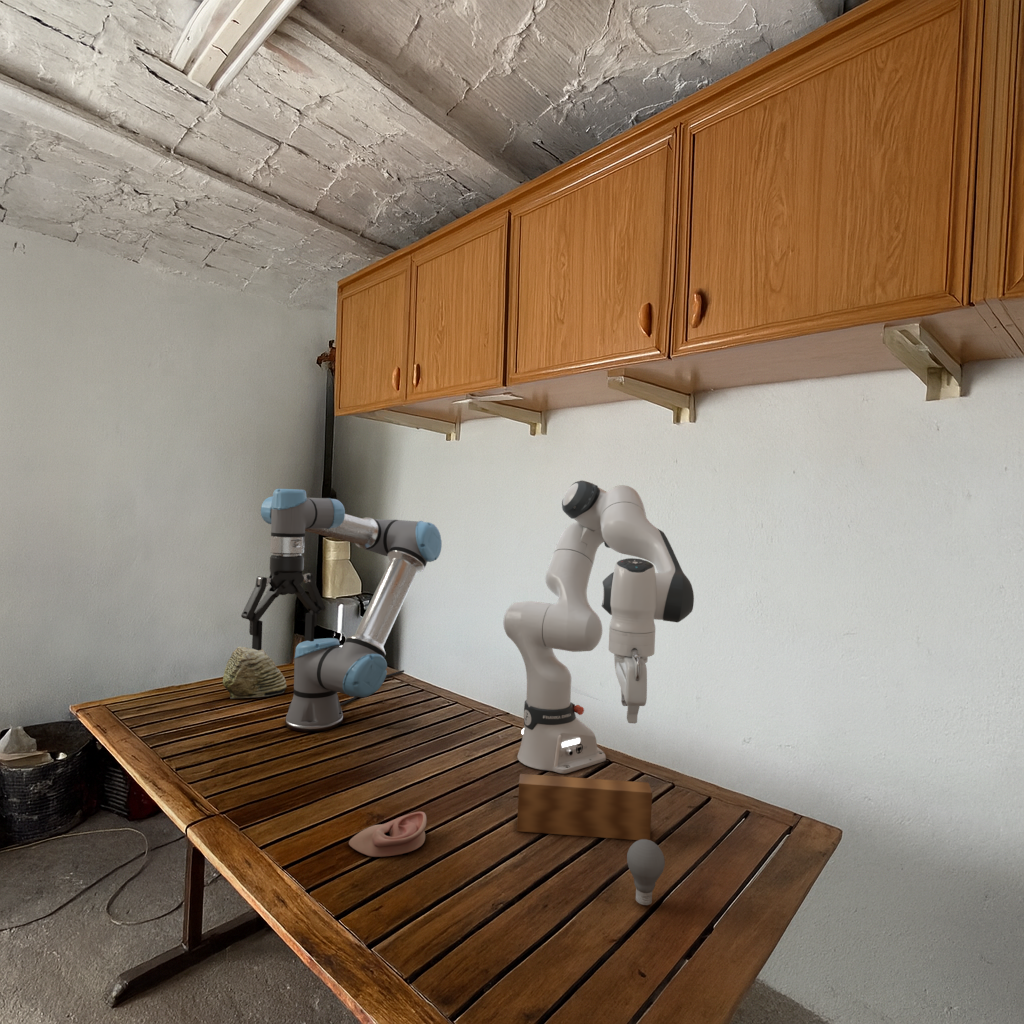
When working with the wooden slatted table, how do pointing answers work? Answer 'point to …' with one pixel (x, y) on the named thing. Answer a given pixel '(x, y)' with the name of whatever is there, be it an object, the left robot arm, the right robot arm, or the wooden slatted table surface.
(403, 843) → the anatomical model
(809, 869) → the wooden slatted table surface
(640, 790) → the bar
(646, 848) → the light bulb
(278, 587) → the left robot arm
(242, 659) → the fossil
